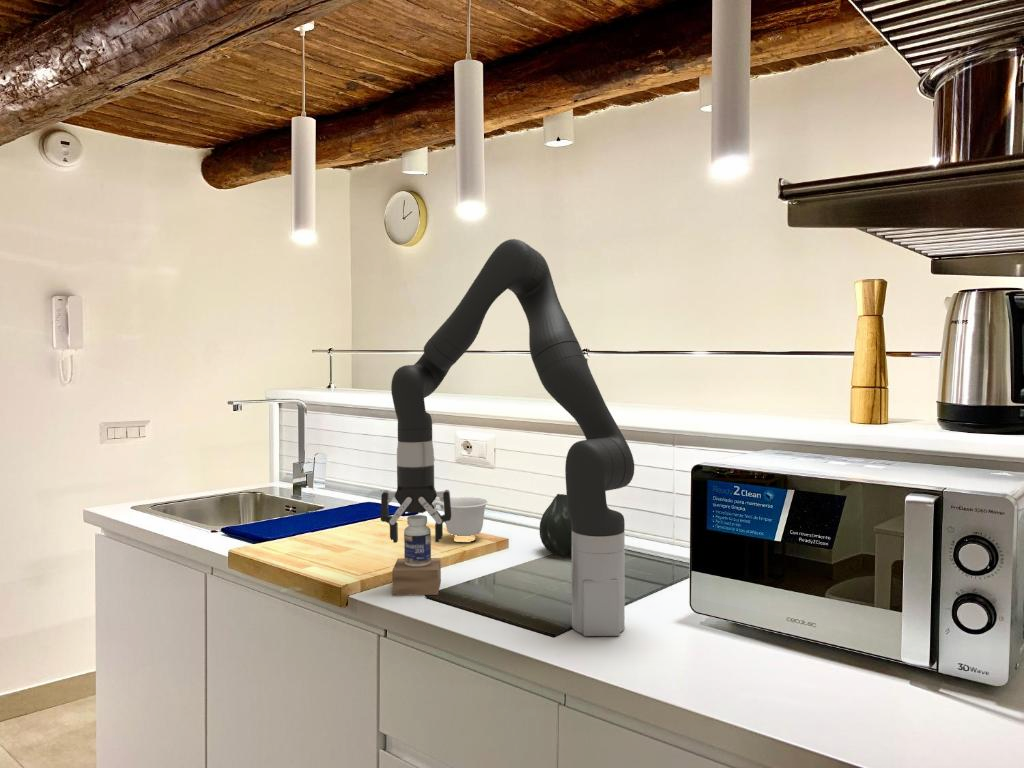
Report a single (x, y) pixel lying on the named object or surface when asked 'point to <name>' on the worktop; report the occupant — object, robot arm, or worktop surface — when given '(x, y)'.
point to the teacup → (465, 515)
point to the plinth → (416, 578)
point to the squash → (557, 527)
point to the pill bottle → (417, 542)
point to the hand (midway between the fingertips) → (416, 541)
